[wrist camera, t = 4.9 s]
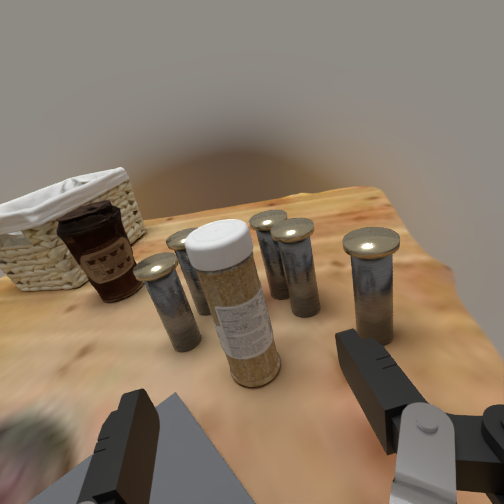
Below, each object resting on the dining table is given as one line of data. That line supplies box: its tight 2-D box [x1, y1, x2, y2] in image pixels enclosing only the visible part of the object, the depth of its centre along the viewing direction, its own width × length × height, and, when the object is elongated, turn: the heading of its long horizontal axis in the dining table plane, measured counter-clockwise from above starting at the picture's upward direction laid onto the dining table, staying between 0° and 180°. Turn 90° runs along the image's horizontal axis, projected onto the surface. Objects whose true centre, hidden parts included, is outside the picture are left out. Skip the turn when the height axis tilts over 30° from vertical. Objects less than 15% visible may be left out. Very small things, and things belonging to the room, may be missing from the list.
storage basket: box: [0, 167, 146, 291], centre depth 56 cm, size 24×16×15 cm
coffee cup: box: [56, 200, 144, 302], centre depth 42 cm, size 9×8×13 cm
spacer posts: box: [133, 210, 400, 352], centre depth 28 cm, size 21×16×10 cm
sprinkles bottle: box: [185, 219, 280, 387], centre depth 23 cm, size 5×5×14 cm
